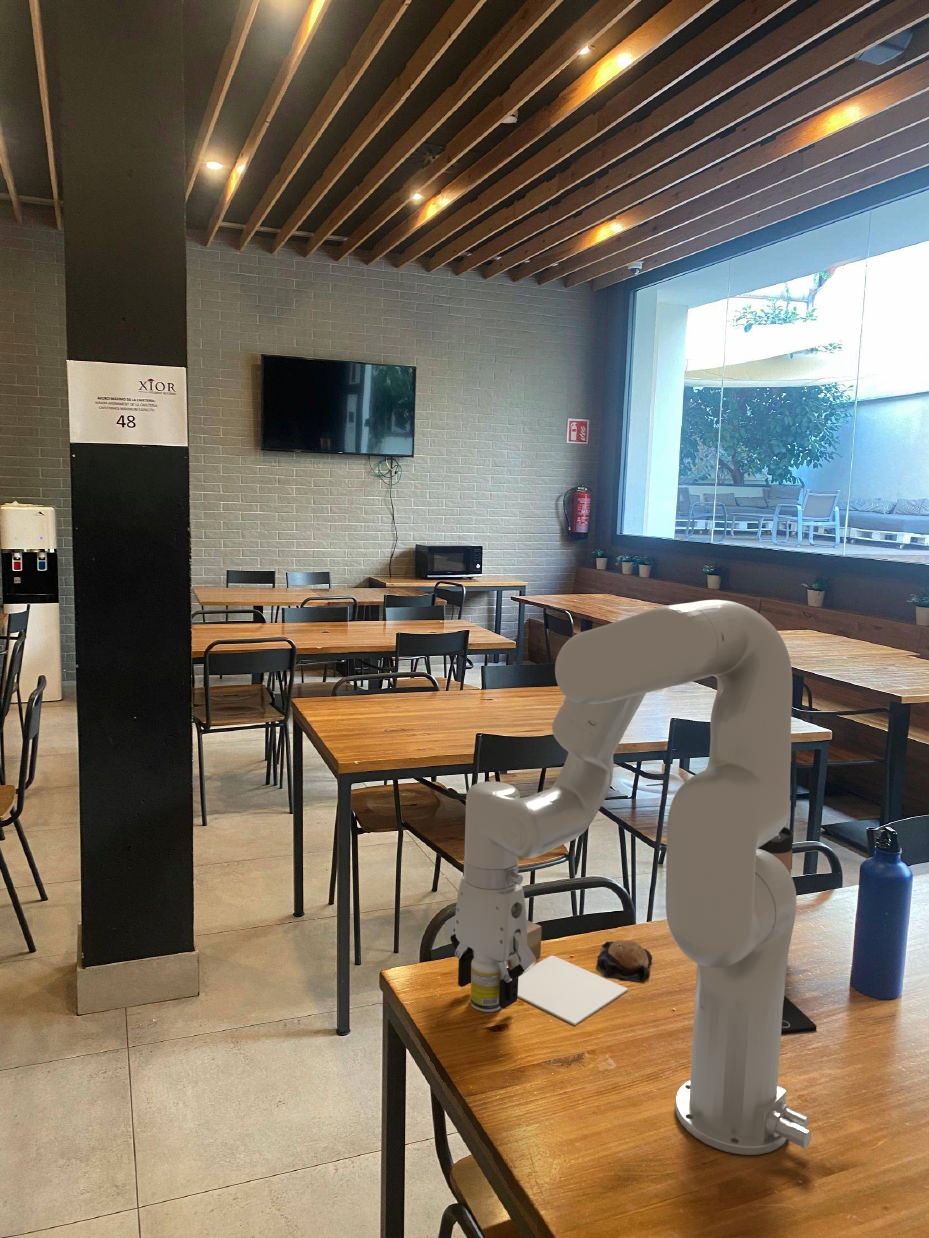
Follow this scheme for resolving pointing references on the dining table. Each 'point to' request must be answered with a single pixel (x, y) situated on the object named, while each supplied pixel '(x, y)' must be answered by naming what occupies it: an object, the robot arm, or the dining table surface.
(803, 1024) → the cell phone
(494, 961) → the supplement bottle
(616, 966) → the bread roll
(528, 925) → the walnut block
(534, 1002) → the white square tile
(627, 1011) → the dining table surface
